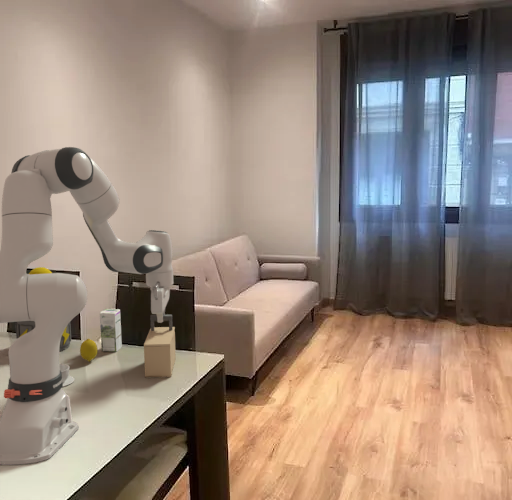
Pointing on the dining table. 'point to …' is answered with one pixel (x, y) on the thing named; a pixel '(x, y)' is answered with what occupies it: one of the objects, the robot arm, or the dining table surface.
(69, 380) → the teacup
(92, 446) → the dining table surface
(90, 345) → the lemon
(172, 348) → the carton
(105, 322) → the syrup box
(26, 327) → the decorative lamp
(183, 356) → the dining table surface
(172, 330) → the lid flap
